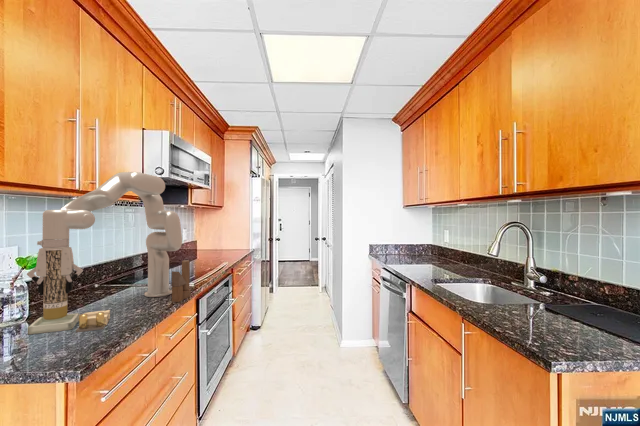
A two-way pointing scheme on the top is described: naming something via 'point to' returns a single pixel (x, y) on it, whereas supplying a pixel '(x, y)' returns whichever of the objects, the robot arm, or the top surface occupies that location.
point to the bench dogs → (98, 326)
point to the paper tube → (54, 287)
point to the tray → (53, 324)
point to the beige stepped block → (92, 317)
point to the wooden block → (181, 283)
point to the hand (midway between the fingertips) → (55, 293)
